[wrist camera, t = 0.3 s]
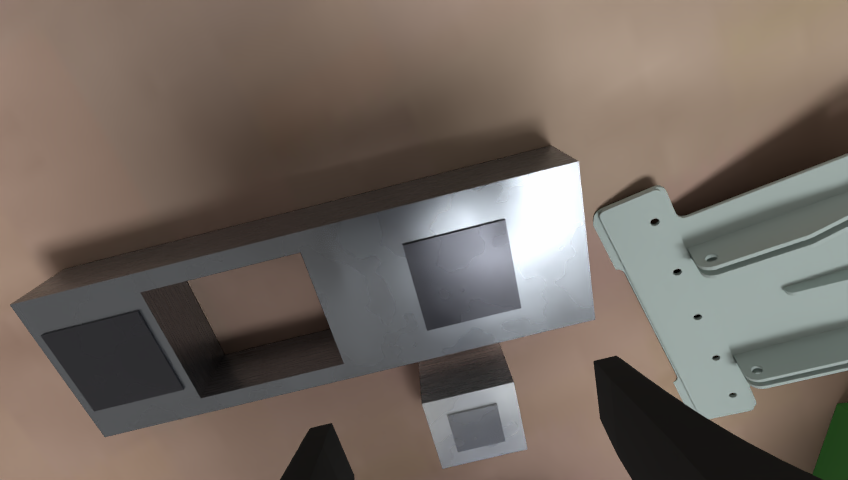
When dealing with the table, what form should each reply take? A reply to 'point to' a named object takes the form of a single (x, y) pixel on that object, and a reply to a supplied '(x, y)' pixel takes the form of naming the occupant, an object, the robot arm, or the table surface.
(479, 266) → the rail
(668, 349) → the metal bracket
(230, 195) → the table surface
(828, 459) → the hardback book
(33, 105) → the table surface
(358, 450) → the table surface
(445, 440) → the cube with square inset
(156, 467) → the table surface
